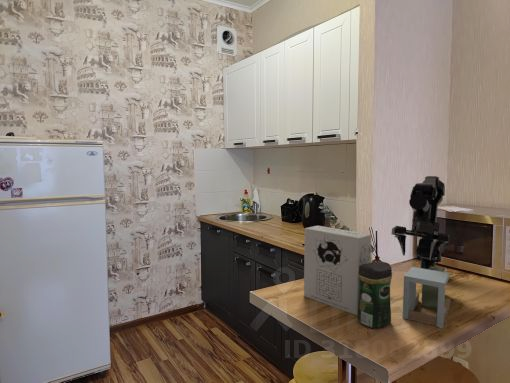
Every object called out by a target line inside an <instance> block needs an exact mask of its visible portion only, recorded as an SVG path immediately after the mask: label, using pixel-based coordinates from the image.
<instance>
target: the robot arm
mask: <svg viewBox="0 0 510 383" xmlns="http://www.w3.org/2000/svg"><path fill="white" fill-rule="evenodd" d="M445 186H446V185H445V183H444V182H443V181H442V180H440V176H437V175H436V176H435V175H434V176H433V175H430V176H429V175H427V176H425V177H424V180H423V181H422V182H419V183H414V186H412V190H411V192H410V195H409V196H410V197H409V198H410V199H409V202H408V204H409V206H410V207H411V209H412V210H413V213H412V222H411V223H412V224H411V230H409V229H407V227H406V226H399V225H395V226H394V227H392V228H391V235H392V236H394V238H396V239H397V242H398V243H399V245H400V250H401V253H402V256H405V255H406V239H407V236H412V237H418V238H419V240H418V244H417V245H416V249H415V252H416V253H415V254H416V260H420V267H419V268H422V269H429V267H430V266H436V263H441V262H442V254H441V253H442V252H441V250H440V246H442V245H445V244H447V243H450V236H449V234H448V233H441V232H439V231H440V225H441V224H440V222H438V220H437V218H438V210H439V208H438V207H439V205H440V204H441V203H442V202H443V199H444V196H445V195H446V187H445Z"/></svg>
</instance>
